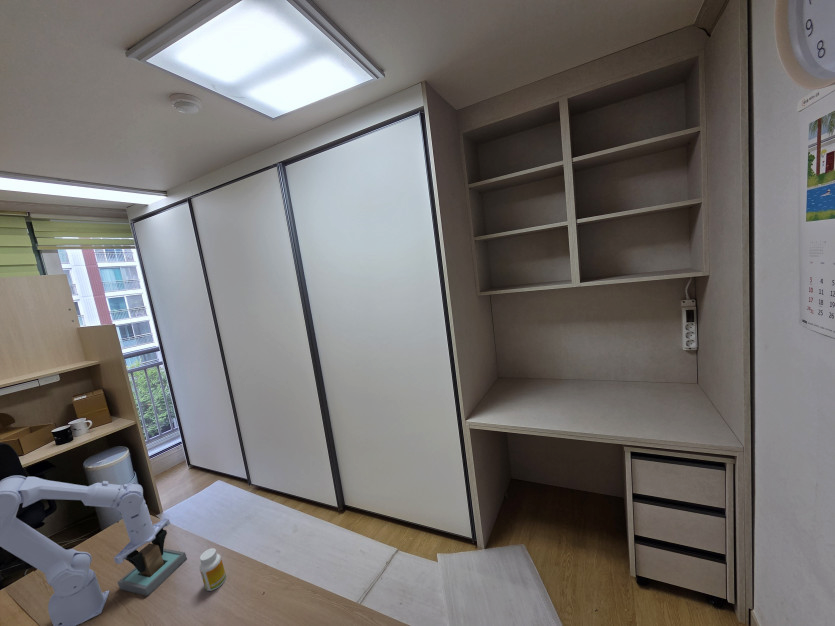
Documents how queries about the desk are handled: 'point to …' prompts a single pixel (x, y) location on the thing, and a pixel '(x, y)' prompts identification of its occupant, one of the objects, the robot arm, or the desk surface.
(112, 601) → the desk surface
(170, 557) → the socket box
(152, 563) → the peg
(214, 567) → the supplement bottle
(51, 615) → the robot arm
